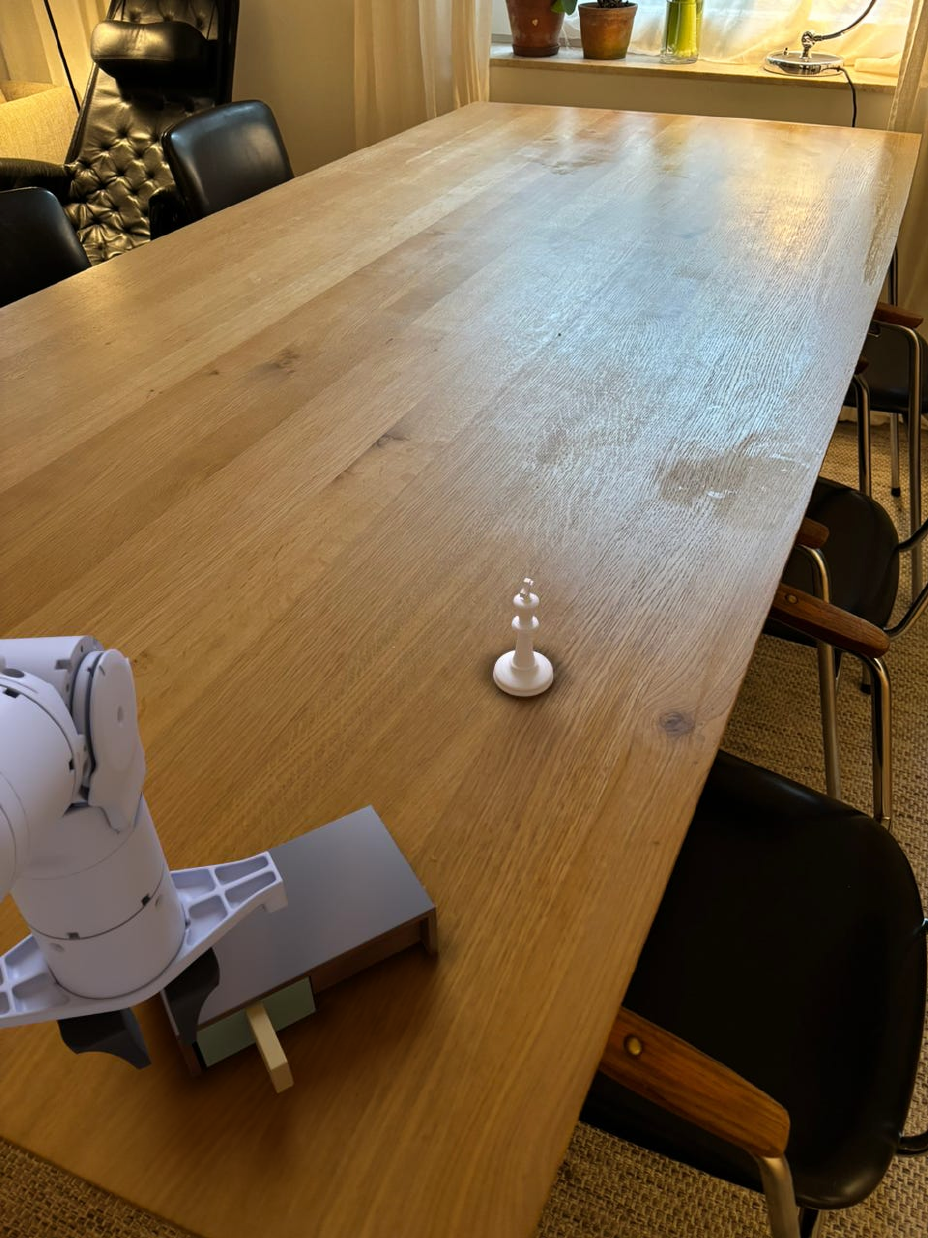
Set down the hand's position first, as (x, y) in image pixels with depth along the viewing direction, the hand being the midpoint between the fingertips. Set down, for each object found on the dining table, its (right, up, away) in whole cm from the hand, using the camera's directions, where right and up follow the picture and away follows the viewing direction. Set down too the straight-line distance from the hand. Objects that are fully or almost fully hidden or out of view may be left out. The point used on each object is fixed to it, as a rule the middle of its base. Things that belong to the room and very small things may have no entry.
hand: (162, 1038), depth 49 cm
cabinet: (+4, 0, +14) cm, 14 cm away
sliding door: (+4, -5, +8) cm, 10 cm away
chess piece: (+20, +16, +33) cm, 41 cm away
